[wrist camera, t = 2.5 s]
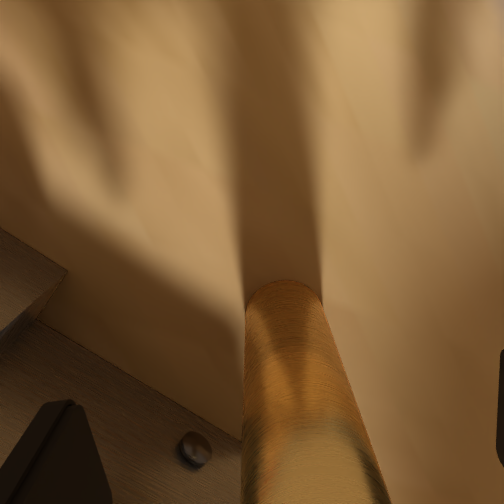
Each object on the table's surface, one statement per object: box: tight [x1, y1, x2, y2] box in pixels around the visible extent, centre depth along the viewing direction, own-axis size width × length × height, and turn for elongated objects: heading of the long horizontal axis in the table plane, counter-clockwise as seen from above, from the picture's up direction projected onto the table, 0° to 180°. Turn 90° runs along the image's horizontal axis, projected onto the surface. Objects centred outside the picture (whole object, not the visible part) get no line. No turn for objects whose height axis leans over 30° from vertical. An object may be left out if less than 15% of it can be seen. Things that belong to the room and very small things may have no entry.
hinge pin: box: [240, 280, 392, 504], centre depth 10 cm, size 4×4×13 cm
